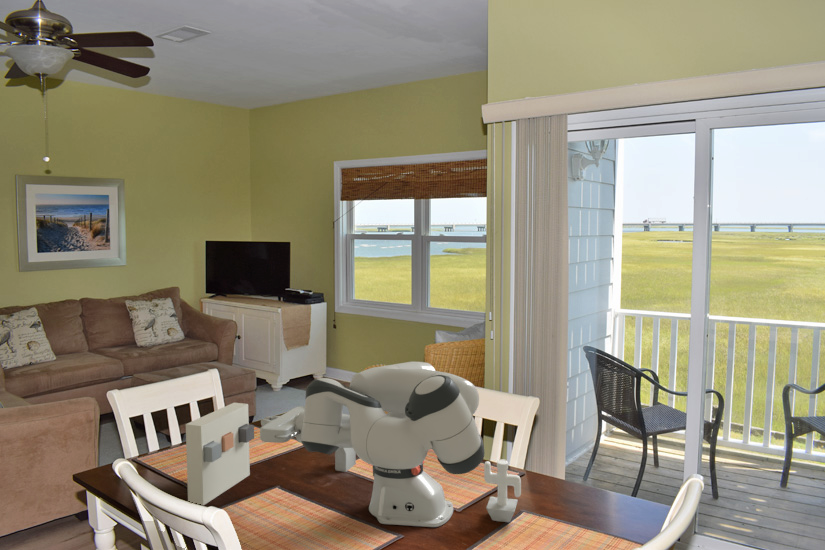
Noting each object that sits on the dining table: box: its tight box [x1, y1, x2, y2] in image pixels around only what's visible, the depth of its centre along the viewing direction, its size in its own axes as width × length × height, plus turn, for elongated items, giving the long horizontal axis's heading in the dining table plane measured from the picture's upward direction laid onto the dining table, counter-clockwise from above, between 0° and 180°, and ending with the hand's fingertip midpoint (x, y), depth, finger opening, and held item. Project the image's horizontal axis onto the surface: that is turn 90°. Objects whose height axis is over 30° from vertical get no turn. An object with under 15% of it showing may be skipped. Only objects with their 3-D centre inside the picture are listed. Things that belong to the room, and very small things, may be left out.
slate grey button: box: [203, 442, 221, 462], centre depth 170 cm, size 4×4×4 cm
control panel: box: [185, 402, 251, 506], centre depth 178 cm, size 5×22×22 cm, turn 161°
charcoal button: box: [238, 424, 255, 443], centre depth 185 cm, size 4×4×4 cm
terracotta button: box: [222, 433, 234, 451], centre depth 178 cm, size 4×4×4 cm
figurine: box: [483, 458, 522, 523], centre depth 160 cm, size 7×9×15 cm
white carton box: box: [334, 448, 357, 473], centre depth 194 cm, size 4×7×10 cm, turn 159°
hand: (263, 420), depth 172 cm, fingers closed
